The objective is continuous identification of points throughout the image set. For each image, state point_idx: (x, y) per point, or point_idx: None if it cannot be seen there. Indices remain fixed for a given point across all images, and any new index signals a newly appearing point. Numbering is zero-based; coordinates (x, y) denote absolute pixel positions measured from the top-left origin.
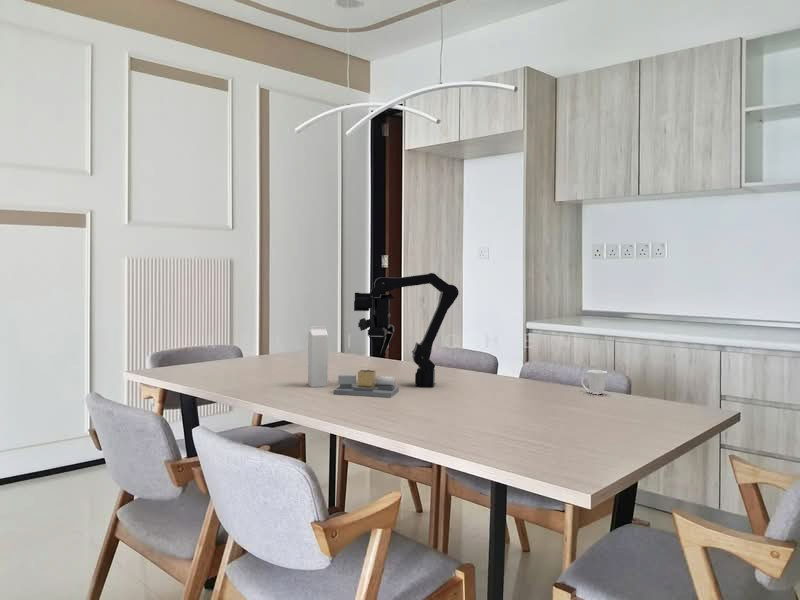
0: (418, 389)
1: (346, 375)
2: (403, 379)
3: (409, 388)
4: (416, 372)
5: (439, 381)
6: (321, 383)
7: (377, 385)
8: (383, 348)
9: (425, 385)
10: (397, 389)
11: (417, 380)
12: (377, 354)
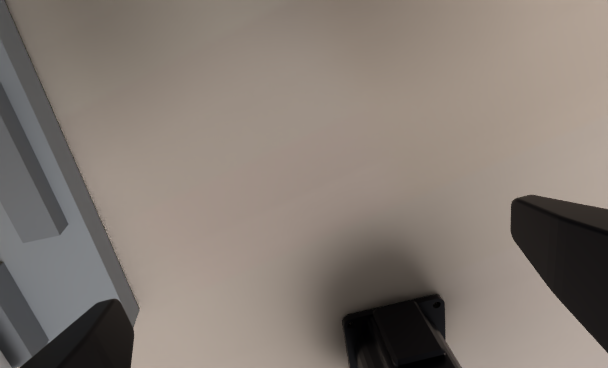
0: (267, 357)
1: None
2: (576, 151)
3: (271, 312)
4: (414, 362)
5: (550, 337)
6: None
7: (23, 229)
8: (552, 240)
9: (353, 363)
10: None
11: (374, 339)
12: (98, 310)
